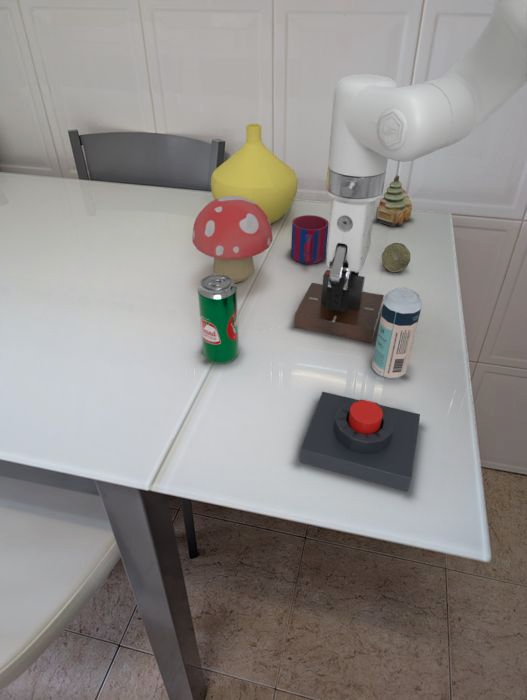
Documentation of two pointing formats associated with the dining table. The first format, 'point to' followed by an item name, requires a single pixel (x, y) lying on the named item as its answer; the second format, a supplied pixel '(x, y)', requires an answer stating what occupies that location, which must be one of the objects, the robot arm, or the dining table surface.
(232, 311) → the soda can
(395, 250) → the lime
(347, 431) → the button box
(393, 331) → the beer can
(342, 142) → the robot arm
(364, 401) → the button
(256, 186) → the vase
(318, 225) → the cup
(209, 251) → the decorative mushroom
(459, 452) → the dining table surface
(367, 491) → the dining table surface
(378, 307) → the knob panel
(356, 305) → the dark upright slab
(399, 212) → the ornament
